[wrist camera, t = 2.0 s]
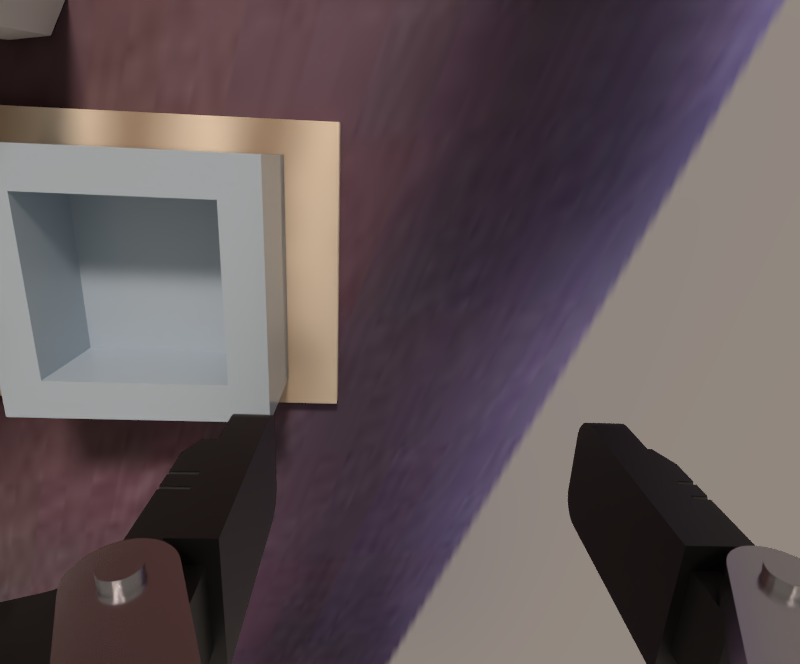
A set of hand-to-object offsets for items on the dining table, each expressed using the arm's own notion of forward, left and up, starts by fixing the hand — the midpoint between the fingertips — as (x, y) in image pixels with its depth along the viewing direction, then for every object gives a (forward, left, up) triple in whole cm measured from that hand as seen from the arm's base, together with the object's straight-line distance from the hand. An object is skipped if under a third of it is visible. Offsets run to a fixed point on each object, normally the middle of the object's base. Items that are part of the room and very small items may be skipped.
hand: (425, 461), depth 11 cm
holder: (+11, 0, -17) cm, 20 cm away
